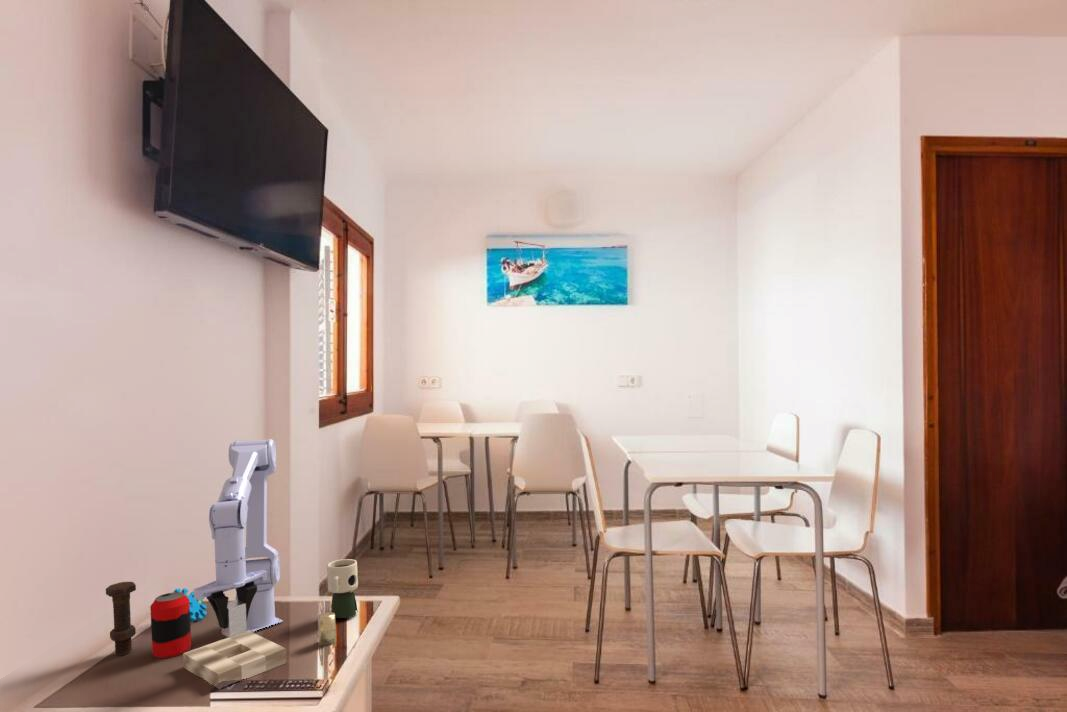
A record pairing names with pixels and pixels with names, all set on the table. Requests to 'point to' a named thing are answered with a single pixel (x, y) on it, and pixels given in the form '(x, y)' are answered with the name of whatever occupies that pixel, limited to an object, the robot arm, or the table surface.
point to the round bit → (327, 628)
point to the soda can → (170, 625)
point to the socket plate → (234, 658)
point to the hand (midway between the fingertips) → (233, 624)
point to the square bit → (235, 619)
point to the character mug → (343, 587)
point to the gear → (194, 606)
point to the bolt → (122, 616)
